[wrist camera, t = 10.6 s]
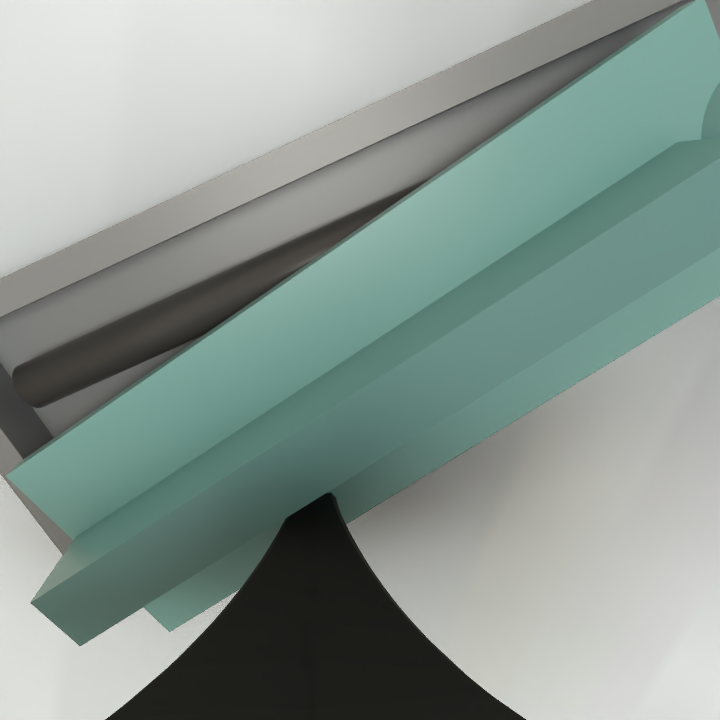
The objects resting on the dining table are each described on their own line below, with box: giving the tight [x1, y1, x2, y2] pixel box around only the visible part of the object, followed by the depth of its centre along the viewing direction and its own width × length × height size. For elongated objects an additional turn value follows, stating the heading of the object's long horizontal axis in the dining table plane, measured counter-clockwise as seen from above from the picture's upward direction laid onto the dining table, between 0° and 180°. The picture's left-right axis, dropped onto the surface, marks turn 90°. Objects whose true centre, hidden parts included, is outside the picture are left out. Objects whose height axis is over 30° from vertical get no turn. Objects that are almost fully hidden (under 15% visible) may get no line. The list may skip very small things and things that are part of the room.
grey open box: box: [0, 0, 720, 555], centre depth 11 cm, size 17×6×2 cm, turn 114°
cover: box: [6, 0, 720, 646], centre depth 10 cm, size 16×5×2 cm, turn 124°
